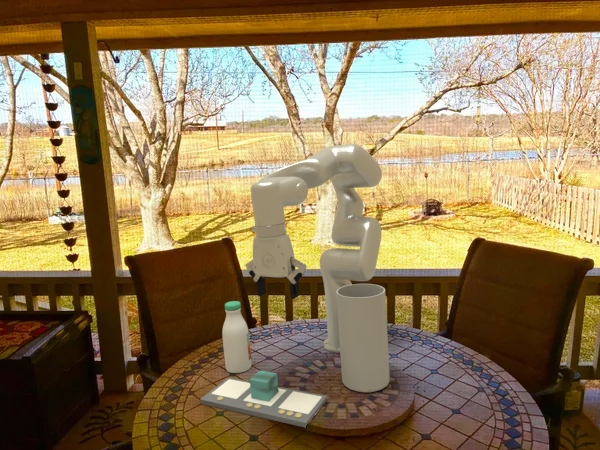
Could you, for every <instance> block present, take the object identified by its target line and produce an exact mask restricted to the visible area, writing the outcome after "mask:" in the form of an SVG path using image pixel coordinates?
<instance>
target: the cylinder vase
mask: <svg viewBox="0 0 600 450" xmlns="http://www.w3.org/2000/svg"><path fill="white" fill-rule="evenodd" d="M336 295H337V310H338V325H339V340H340V353H339V354H340V368H341V369H340V370H341V380H342V384H343V385H344V386H345V387H346V388H347V389H349V390H352V391H355V392H357V393H358V392H360V393H373V392H378V391H381V390H383V389H384V388H386V387H387V386H388V385H389V383H390V378H391V377H390V361H389V360H390V358H389V357H390V356H389V341H388V337H389V336H388V323H387V322H388V318H387V304H386V302H387V301H386V300H387V298H386V297H387V296H386V288H385V287H383V286H382V285H379V284H373V283H355V284H352V285H347V286H343V287H341V288H339V289H337V291H336Z"/></svg>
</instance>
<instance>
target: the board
mask: <svg viewBox="0 0 600 450" xmlns="http://www.w3.org/2000/svg"><path fill="white" fill-rule="evenodd" d="M278 391H279V392H278V393H277V394H276V395H275V396H274V397H273V398H272V399H271V400H270V401H269V402H267V401H262V400H258V399H253V398H251V389H250V380H249V381H248V380H243V379H238V378H233V377H227V378H225V379H224V380H223V381H222V382H220V383H219V384H218V385H217V386H215V387H214V388H213V389H212V390H210V391H209V392H208V393H206V394H205V395H204V396H202V397H200V399H199V401H200V405H205V406H209V407H213V408H218V409H221V410H222V409H223V410H225V411H227V410H228V411H231V412H236V413H240V414H243V415H244V414H245V415H249V416H253V417H256V418H257V417H258V418H262V419H266V420H271V421H276V422H279V423H284V424H288V425H293V426H296V427H302V428H305V429H307V428H306V425H307V423H308V421H309V420H310V419H311V418H312V417H313V416H314V415H315V413H316V412H317V411H318V410H319V409H320V408H321V407H322V405H323V404H324V403H325V402H326V400H327V401H328V395H324V394H319V393H312V392H307V391H303V390H297V389H293V388H288V387H287V388H286V387H281V386H278ZM326 403H327V402H326ZM326 403H325V404H326ZM325 404H324V405H325ZM322 408H323V407H322ZM322 408H321V409H322Z"/></svg>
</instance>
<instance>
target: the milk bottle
mask: <svg viewBox="0 0 600 450" xmlns="http://www.w3.org/2000/svg"><path fill="white" fill-rule="evenodd" d="M241 310H242V304H241V302H240V301H238V300H237V301H236V300H232V301H227V302H225V303H224V311H225V313H226V314H225V318H224V319H225V320H224V322H223V326H222V334H221V336H222V344H223V345H222V346H223V355H224V364H225V369H226V371H227V372H228V373H230V374H241V373H244V372H247V371H249V370H250V369H251V368H252V354H251V353H252V352H251V341H250V335H249V327H248V325H247V321H246V320H245V318H244V317H243V315H242V312H241Z"/></svg>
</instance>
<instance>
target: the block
mask: <svg viewBox="0 0 600 450" xmlns="http://www.w3.org/2000/svg"><path fill="white" fill-rule="evenodd" d="M249 381H250V389H251V398H253V399H258V400H262V401H267V402H269V401H270V400H271V399H272V398H273V397H274V396H275V395H276V394H277V393H278V392H279V391H278V387H279V383H278V373H277V372H272V371H266V370H259V371H258V372H256V373H255V374H254V375H253V376H252V377H250V379H249Z"/></svg>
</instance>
